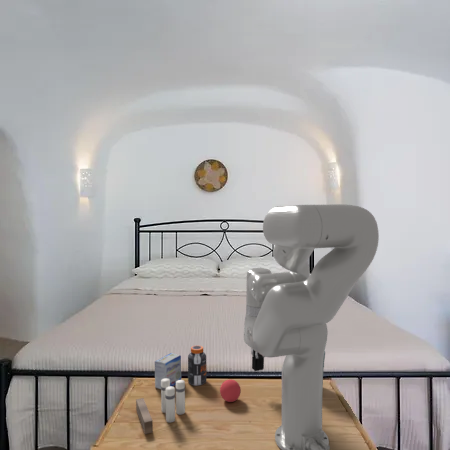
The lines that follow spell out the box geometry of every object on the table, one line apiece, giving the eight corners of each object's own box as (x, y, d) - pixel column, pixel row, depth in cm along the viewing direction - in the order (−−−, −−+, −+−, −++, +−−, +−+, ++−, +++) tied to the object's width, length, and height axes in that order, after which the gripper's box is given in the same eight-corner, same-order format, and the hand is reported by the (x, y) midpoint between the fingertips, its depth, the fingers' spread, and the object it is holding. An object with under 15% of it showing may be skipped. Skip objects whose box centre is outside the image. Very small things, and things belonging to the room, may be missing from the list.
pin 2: (176, 421, 98) (176, 389, 98) (167, 423, 97) (166, 391, 97) (173, 416, 101) (173, 385, 100) (164, 418, 100) (164, 387, 99)
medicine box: (165, 391, 114) (165, 363, 114) (154, 387, 116) (154, 360, 116) (181, 381, 121) (181, 354, 120) (171, 377, 123) (170, 352, 123)
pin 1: (171, 411, 103) (171, 381, 102) (162, 413, 102) (162, 383, 101) (169, 407, 105) (168, 377, 105) (160, 409, 104) (159, 379, 104)
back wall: (152, 432, 94) (152, 420, 93) (144, 434, 93) (144, 422, 93) (143, 408, 105) (143, 397, 104) (136, 409, 104) (136, 399, 104)
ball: (244, 403, 107) (244, 382, 107) (224, 407, 105) (224, 387, 104) (235, 393, 112) (235, 374, 112) (216, 397, 110) (216, 378, 110)
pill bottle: (203, 386, 117) (203, 351, 116) (185, 385, 118) (185, 350, 117) (208, 378, 123) (208, 344, 122) (191, 376, 124) (190, 343, 123)
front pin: (186, 413, 102) (185, 383, 101) (177, 415, 101) (177, 384, 100) (183, 408, 104) (183, 379, 104) (174, 410, 103) (174, 380, 103)
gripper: (236, 304, 116) (236, 361, 118) (259, 319, 103) (258, 383, 104) (258, 301, 119) (257, 357, 121) (283, 316, 106) (281, 378, 107)
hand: (257, 369), depth 113 cm, fingers closed
